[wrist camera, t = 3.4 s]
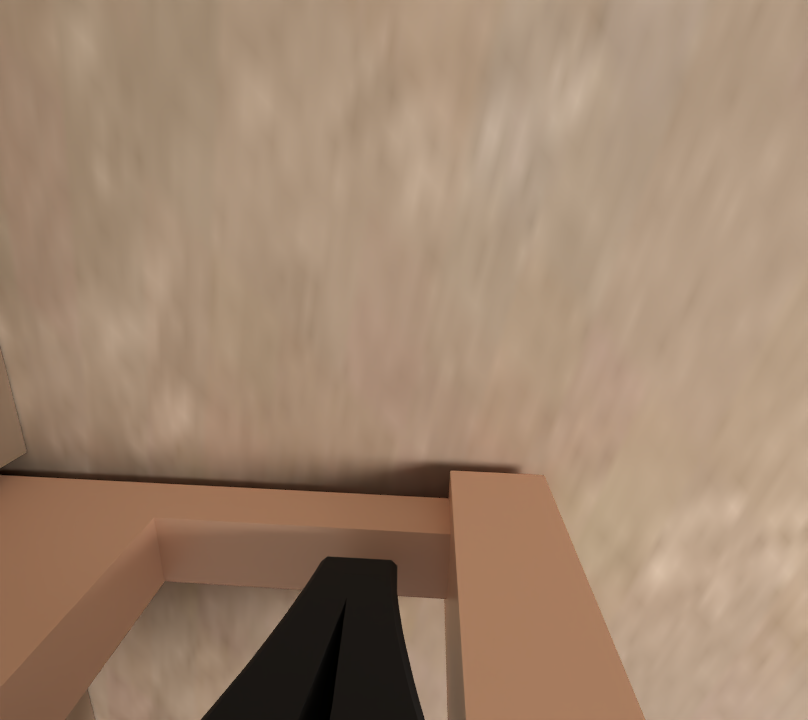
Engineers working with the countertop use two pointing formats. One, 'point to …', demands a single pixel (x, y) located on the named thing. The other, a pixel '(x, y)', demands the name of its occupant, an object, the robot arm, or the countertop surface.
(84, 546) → the stepped wooden plank
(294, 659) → the robot arm
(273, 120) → the countertop surface
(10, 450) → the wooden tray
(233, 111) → the countertop surface
